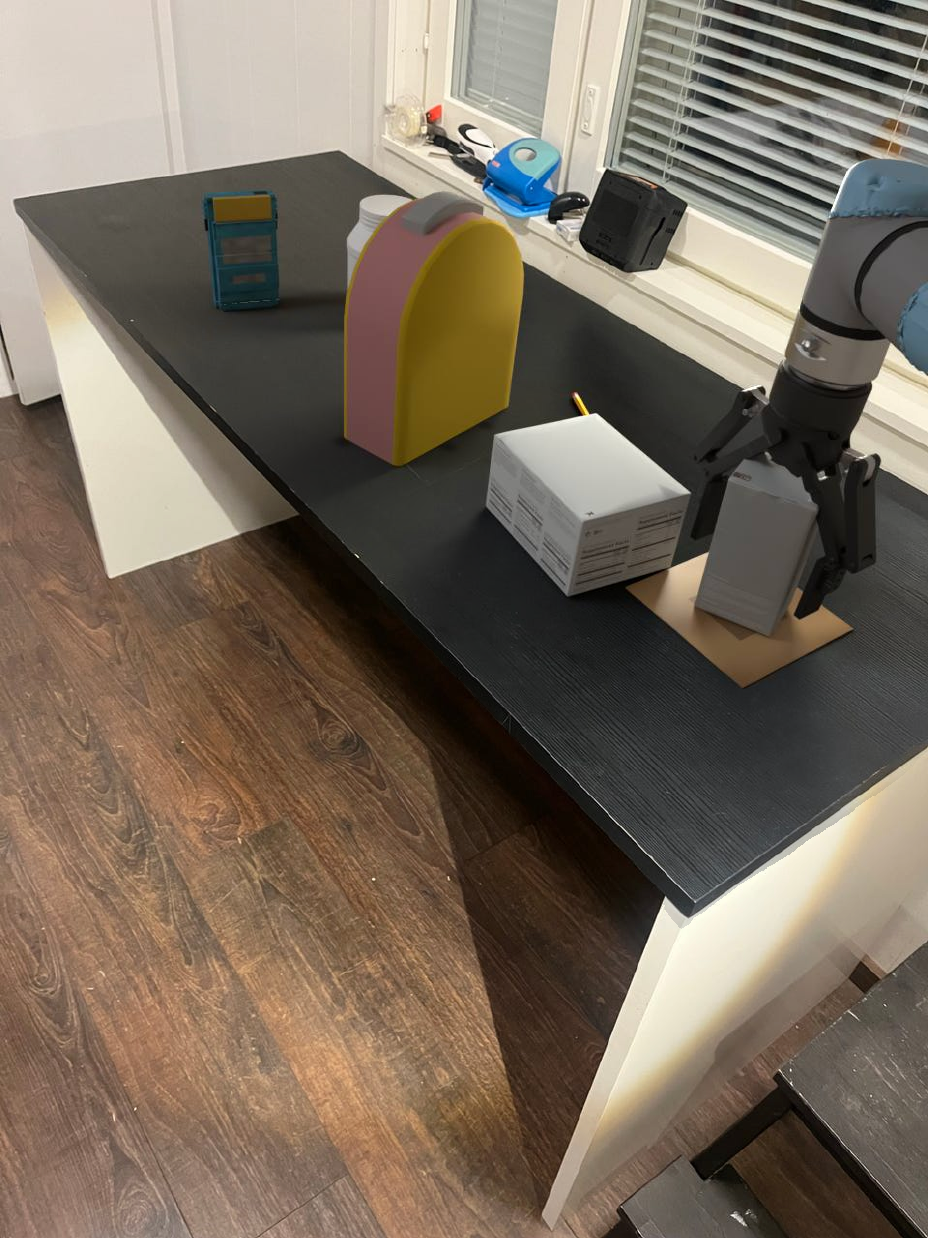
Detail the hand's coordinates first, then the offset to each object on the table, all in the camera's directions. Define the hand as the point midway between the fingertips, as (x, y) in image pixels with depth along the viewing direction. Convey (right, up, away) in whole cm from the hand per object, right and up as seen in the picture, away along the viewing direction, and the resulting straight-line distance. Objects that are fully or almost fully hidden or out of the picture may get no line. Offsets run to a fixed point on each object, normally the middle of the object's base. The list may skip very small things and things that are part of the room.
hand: (751, 572), depth 91 cm
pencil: (-12, +20, +27) cm, 36 cm away
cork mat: (0, -3, +3) cm, 5 cm away
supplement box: (-16, +4, +10) cm, 19 cm away
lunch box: (-32, +20, +25) cm, 45 cm away
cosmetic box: (0, -3, +3) cm, 5 cm away
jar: (-39, +40, +46) cm, 72 cm away
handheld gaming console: (-58, +40, +44) cm, 83 cm away
